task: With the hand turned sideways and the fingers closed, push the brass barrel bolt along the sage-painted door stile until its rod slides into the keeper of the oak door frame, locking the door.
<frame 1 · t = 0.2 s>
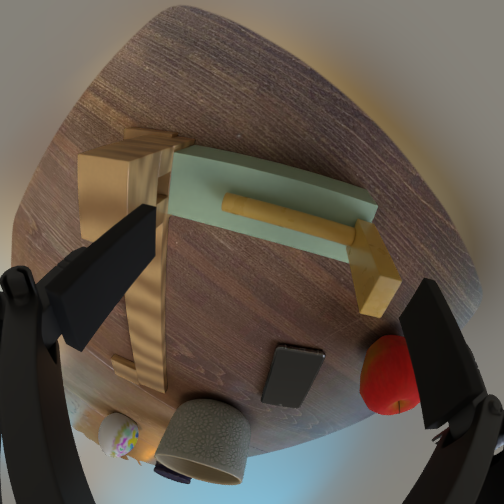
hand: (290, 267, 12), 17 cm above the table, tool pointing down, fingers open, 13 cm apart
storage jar: (188, 431, 62), on the table
apple: (386, 342, 35), on the table
door frame: (116, 361, 50), on the table
decorative egg: (125, 419, 69), on the table
bolt: (297, 240, 19), point 10 cm above the table, slide at 0.0 cm
door stile: (273, 191, 28), on the table
planter: (217, 410, 52), on the table
smartphone: (290, 377, 41), on the table
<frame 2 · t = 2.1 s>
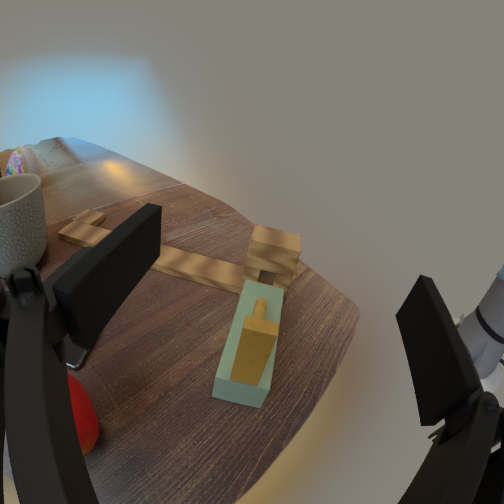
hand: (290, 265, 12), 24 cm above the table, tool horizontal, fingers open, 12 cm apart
apple: (75, 436, 20), on the table
door frame: (96, 217, 59), on the table
decorative egg: (24, 191, 64), on the table
bolt: (260, 316, 30), point 10 cm above the table, slide at 0.0 cm
door stile: (248, 349, 37), on the table
planter: (17, 262, 40), on the table
smartphone: (47, 334, 30), on the table
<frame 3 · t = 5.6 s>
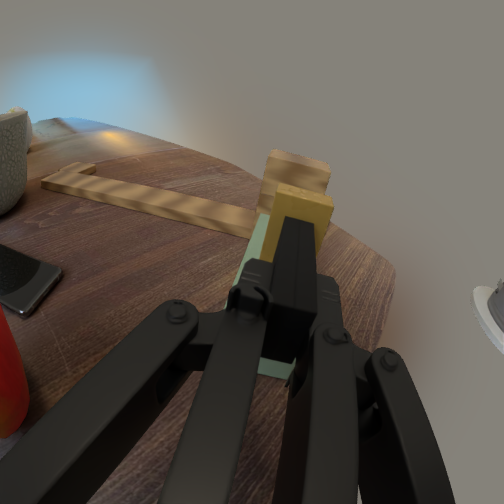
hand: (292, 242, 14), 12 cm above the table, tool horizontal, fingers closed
apple: (6, 409, 11), on the table
door frame: (86, 170, 49), on the table
decorative egg: (15, 155, 55), on the table
bolt: (290, 223, 21), point 10 cm above the table, slide at 0.6 cm, touching gripper
door stile: (266, 299, 28), on the table
smartphone: (2, 276, 21), on the table
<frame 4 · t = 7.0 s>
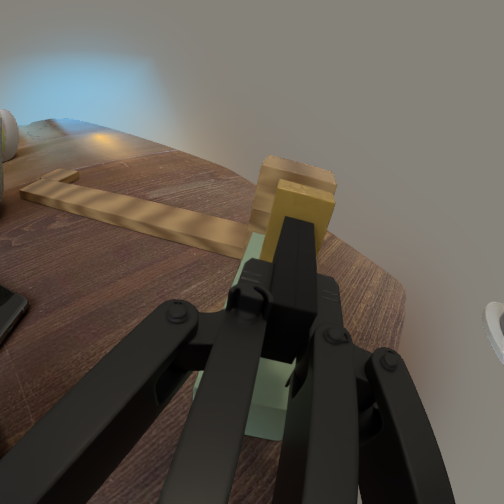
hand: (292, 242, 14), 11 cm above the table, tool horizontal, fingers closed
door frame: (69, 177, 45), on the table
decorative egg: (2, 160, 50), on the table
bolt: (290, 221, 21), point 10 cm above the table, slide at 6.1 cm, touching gripper
door stile: (257, 338, 23), on the table
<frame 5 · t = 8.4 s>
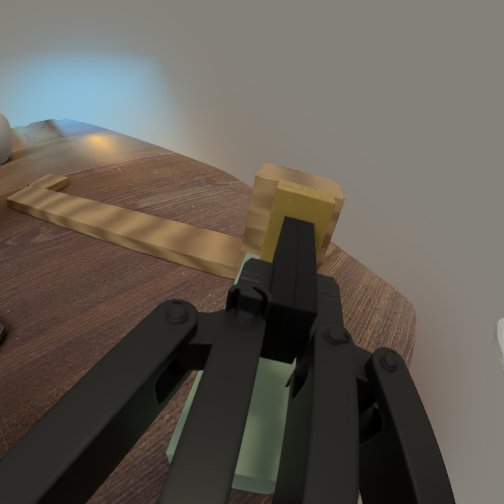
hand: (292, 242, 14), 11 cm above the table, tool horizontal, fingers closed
door frame: (59, 183, 42), on the table
bolt: (292, 221, 21), point 10 cm above the table, slide at 10.2 cm, touching gripper
door stile: (249, 376, 20), on the table
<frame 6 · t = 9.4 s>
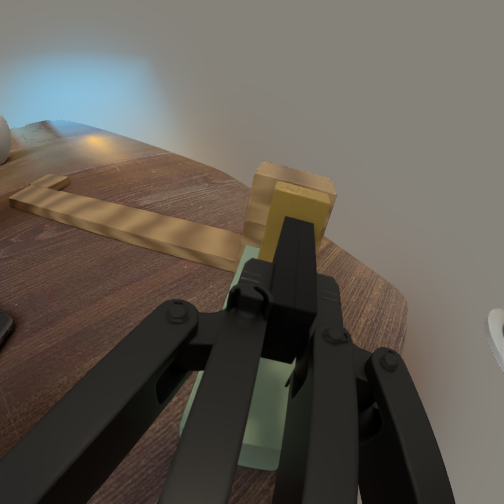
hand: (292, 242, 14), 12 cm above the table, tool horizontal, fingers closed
door frame: (59, 182, 42), on the table
bolt: (288, 220, 21), point 10 cm above the table, slide at 9.0 cm
door stile: (251, 360, 21), on the table
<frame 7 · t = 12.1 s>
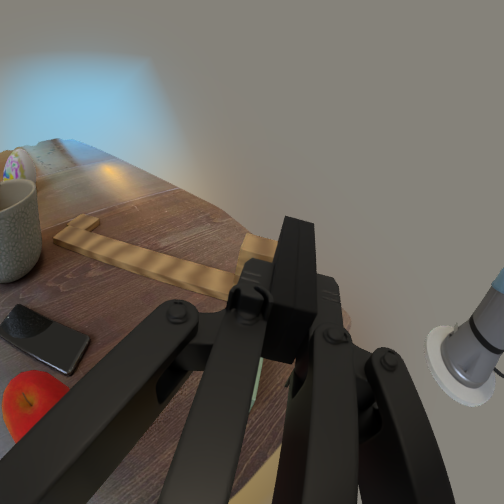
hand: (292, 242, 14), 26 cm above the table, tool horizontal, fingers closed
apple: (67, 440, 20), on the table
door frame: (90, 221, 59), on the table
decorative egg: (21, 194, 64), on the table
planter: (13, 267, 39), on the table
smartphone: (41, 339, 30), on the table
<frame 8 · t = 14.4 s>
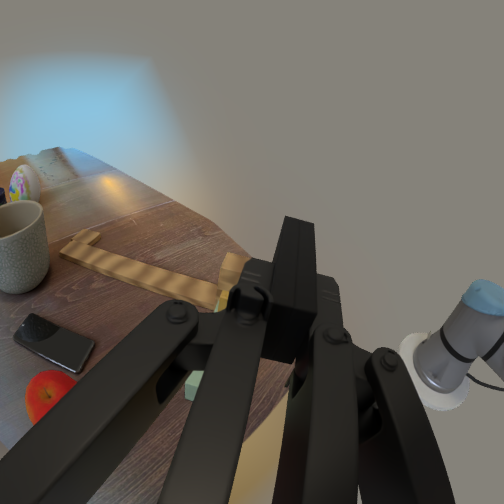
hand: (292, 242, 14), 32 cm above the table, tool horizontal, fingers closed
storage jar: (0, 245, 52), on the table
apple: (76, 427, 27), on the table
door frame: (92, 235, 65), on the table
decorative egg: (27, 207, 70), on the table
bolt: (235, 294, 44), point 10 cm above the table, slide at 9.0 cm
door stile: (219, 359, 44), on the table
planter: (24, 279, 46), on the table
smartphone: (52, 344, 36), on the table
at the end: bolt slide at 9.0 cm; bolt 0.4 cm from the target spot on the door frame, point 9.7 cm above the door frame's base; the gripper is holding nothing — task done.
